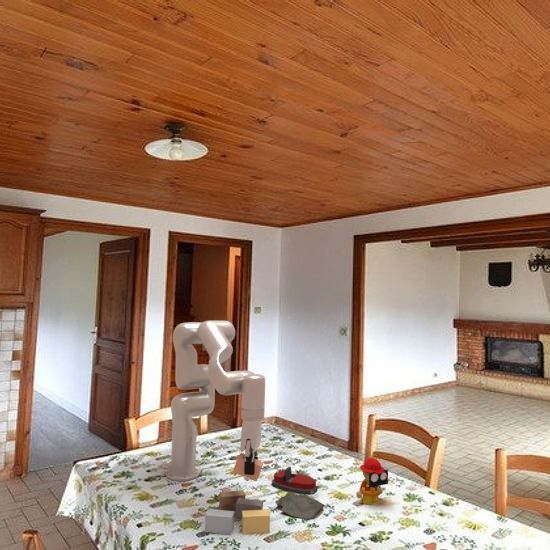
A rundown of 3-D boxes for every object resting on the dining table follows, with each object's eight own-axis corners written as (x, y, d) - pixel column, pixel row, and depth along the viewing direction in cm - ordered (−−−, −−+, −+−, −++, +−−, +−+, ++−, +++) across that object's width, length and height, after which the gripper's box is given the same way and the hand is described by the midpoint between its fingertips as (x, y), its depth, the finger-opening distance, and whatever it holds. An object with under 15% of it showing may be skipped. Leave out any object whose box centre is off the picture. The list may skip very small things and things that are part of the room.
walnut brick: (220, 512, 145) (221, 496, 145) (218, 507, 148) (219, 491, 149) (244, 510, 147) (245, 495, 147) (242, 505, 150) (243, 490, 151)
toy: (366, 510, 149) (367, 464, 150) (350, 499, 157) (351, 456, 158) (392, 504, 154) (393, 460, 155) (375, 494, 162) (376, 452, 163)
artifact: (269, 512, 147) (310, 525, 139) (269, 500, 147) (310, 512, 139) (290, 496, 158) (328, 507, 151) (290, 485, 159) (328, 495, 151)
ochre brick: (242, 534, 131) (243, 516, 132) (241, 527, 135) (242, 510, 136) (269, 533, 133) (270, 515, 133) (267, 526, 137) (268, 509, 137)
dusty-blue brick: (204, 532, 132) (205, 515, 132) (207, 526, 136) (208, 509, 136) (231, 535, 131) (231, 517, 131) (233, 528, 135) (234, 511, 135)
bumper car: (310, 498, 158) (311, 469, 159) (261, 485, 168) (262, 458, 168) (320, 488, 167) (321, 461, 167) (273, 477, 176) (274, 451, 177)
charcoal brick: (235, 519, 140) (235, 503, 140) (238, 514, 144) (238, 498, 144) (260, 522, 139) (260, 506, 139) (262, 516, 143) (263, 500, 143)
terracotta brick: (232, 471, 141) (238, 456, 141) (236, 467, 145) (241, 452, 145) (256, 481, 140) (261, 466, 140) (258, 477, 144) (263, 462, 144)
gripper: (247, 407, 153) (245, 461, 151) (234, 418, 136) (232, 480, 135) (268, 408, 151) (267, 463, 150) (259, 420, 135) (257, 482, 134)
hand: (250, 471), depth 142 cm, fingers closed on terracotta brick, 4 cm apart
